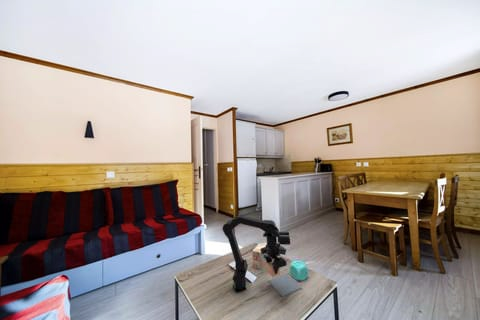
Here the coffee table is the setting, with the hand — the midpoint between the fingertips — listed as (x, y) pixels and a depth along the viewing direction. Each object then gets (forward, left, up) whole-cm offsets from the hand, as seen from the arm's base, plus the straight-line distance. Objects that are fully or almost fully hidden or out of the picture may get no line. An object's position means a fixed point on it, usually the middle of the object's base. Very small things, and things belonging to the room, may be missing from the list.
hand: (273, 271), depth 100 cm
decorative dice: (+21, +4, -12) cm, 24 cm away
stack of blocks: (+10, +30, -12) cm, 33 cm away
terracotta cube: (0, 0, -1) cm, 1 cm away
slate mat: (+8, +2, -11) cm, 14 cm away
